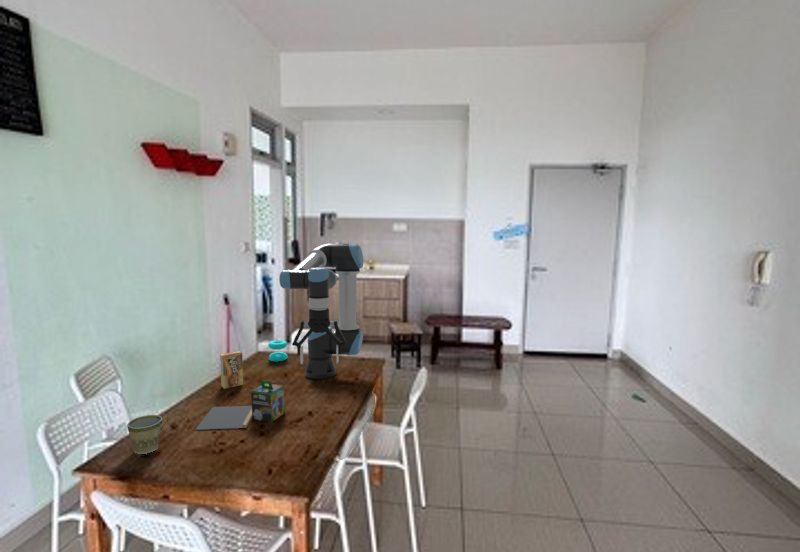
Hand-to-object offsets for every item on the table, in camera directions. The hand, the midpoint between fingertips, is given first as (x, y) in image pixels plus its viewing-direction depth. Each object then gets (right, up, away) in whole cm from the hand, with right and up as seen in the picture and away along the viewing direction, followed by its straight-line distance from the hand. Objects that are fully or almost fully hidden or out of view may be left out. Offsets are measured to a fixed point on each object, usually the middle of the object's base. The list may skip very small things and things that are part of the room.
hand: (319, 362), depth 174 cm
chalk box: (-20, -21, +1) cm, 29 cm away
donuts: (-36, -13, +73) cm, 83 cm away
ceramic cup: (-52, -24, -24) cm, 62 cm away
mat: (-35, -21, 0) cm, 41 cm away
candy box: (-46, -17, +33) cm, 60 cm away
